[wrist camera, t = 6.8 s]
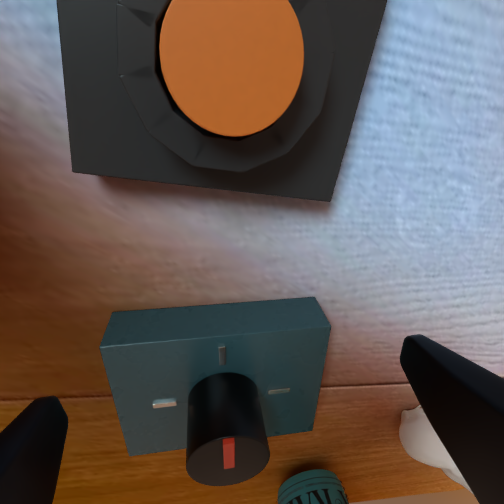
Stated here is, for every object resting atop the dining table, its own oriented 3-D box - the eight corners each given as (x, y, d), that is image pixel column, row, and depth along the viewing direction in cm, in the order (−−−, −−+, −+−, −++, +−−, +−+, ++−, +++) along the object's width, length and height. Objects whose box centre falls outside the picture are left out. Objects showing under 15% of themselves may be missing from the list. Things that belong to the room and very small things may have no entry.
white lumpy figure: (547, 542, 25) (419, 531, 23) (473, 438, 33) (372, 423, 31) (605, 499, 23) (467, 483, 21) (511, 398, 30) (403, 378, 28)
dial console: (136, 416, 24) (128, 459, 21) (112, 311, 19) (97, 349, 16) (300, 396, 26) (313, 433, 23) (315, 296, 21) (332, 328, 18)
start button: (162, 120, 12) (157, 126, 10) (167, -33, 10) (161, -56, 8) (276, 138, 12) (288, 145, 11) (302, 1, 11) (320, -14, 9)
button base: (86, 162, 15) (52, 185, 12) (65, -132, 11) (1, -237, 7) (317, 190, 18) (347, 216, 14) (377, -39, 13) (441, -83, 10)
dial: (256, 414, 21) (269, 485, 17) (190, 423, 21) (189, 498, 17) (258, 368, 19) (273, 437, 15) (185, 376, 19) (182, 449, 15)
